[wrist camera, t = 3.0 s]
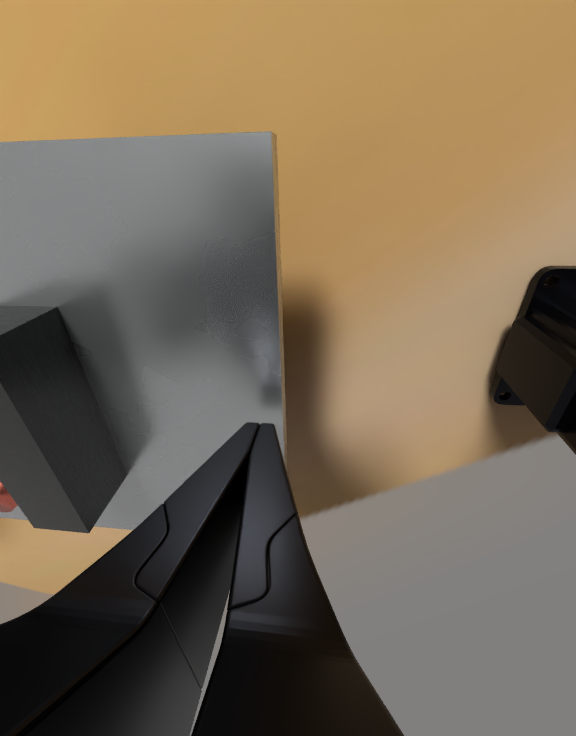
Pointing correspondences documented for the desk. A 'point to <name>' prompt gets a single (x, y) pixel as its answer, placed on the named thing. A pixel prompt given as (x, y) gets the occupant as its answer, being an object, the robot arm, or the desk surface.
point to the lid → (133, 318)
